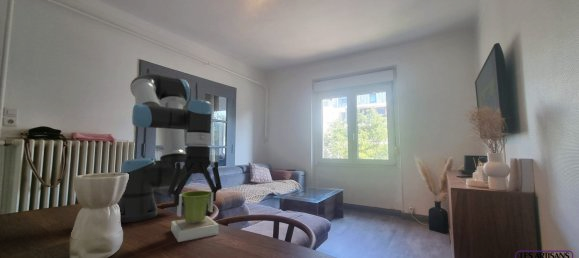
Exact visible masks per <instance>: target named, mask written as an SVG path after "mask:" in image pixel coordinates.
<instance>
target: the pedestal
mask: <svg viewBox="0 0 579 258" xmlns="http://www.w3.org/2000/svg"><path fill="white" fill-rule="evenodd" d="M219 227H220V226H219V223H218V222H216V221H215V220H214V219H213V218H211V217H210V216H208V215H205V219H204V220H202V221H200V222H198V221H194V222H186V221H185V218H184V219H177V220H172V221H171V227H170V228H171V229H170V230H171V233H172V234H173V236H174V237H175V239H176V241H177V243H180V242H185V241H186V242H187V241H190V240H197V239H200V238H201V239H202V238H205V237H211V236H215V235H219Z"/></svg>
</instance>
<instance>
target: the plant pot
mask: <svg viewBox="0 0 579 258" xmlns="http://www.w3.org/2000/svg"><path fill="white" fill-rule="evenodd" d="M180 194H181V195H182V203H183V214H184V215H183V216H184V219H185V221H186V222H194V221H198V222H200V221H202V220H204V219H205V216H206V211H207V209H208V200H209V196H210V194H211V192H209V191H207V190H191V191H184V192H181V193H180Z"/></svg>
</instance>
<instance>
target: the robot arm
mask: <svg viewBox="0 0 579 258" xmlns="http://www.w3.org/2000/svg"><path fill="white" fill-rule="evenodd" d="M129 89H130V92H131V94H132V95H133V97H134V98H135V102H136V103H135V104H134V106H133V107H132V115H131V123H132V125H133V126H134V127H140V128H145V129H147V128H150V129H153V128H154V129H163V154H161V156H160V157H159V160H157V158H156V157H155V156H151V157H138V158H132V159H128V160H125V161H123V162H122V164H121V169H120V172H119V174H120V173H128V174H129V180H128V183H127V187H126V190H125V192H124V194H123V196H122V198H121V200H120V201H119V202H118V201H117V202H118V205H119V207H120V212H121V224H122V223H124V224H125V223H136V222H143V221H147V220H150V219H154V218H155V217H157V216H158V206H157V203H156V199H155V196H154V194H155V193H154V192H155V190H156V189H167V188H168V189H167V190H168V193H169V194H170V195H173V197H174V198H173V204H174V206H177V207H176V216H177V217H178V218H180V217H182V203H183V200H182V195H181V194H182V191H183V189H184V187H186V186H189V185H190V183H191V182H192V180H193V176H194V175H196V174H201V175H203V177H204V179H205V180H206V182H207V185H208V187H209V188H210V190H211V191H208V192H211V194H210V196H209V199H208V202H207V211H208V212H209V213H213V212H214V211H213V209H214V202H216V200H217V192H218V191H220V190H222V189H223V188H222V186H223V185H222V182H221V177H220V173H219V164H220V163H219V161H211V160H210V155H211V154H210V152H211V151H210V150H211V148H210V146H209V145H211V127H212V126H211V125H212V113H213V111H212V103H211V102H210V101H208V100H203V99H192V100H190V98H191V97H190V94H191V89H190V84H189V83H188V80H186V79H183V78H179V77H172V76H168V75H162V74H156V73H144V74H140V75H138V76H135V78H134V79H133V80H131V83H130V88H129ZM187 103H188V106H187V109H185V108H184V107H185V106H186V105H187ZM185 131H186V132H187V133H186V141H185ZM185 142H186V143H185ZM186 145H187V146H186ZM209 166H210V168H212V174H213V178H214V181H213V179H212V178H211V176H210V173H209V171H208V168H209Z"/></svg>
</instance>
